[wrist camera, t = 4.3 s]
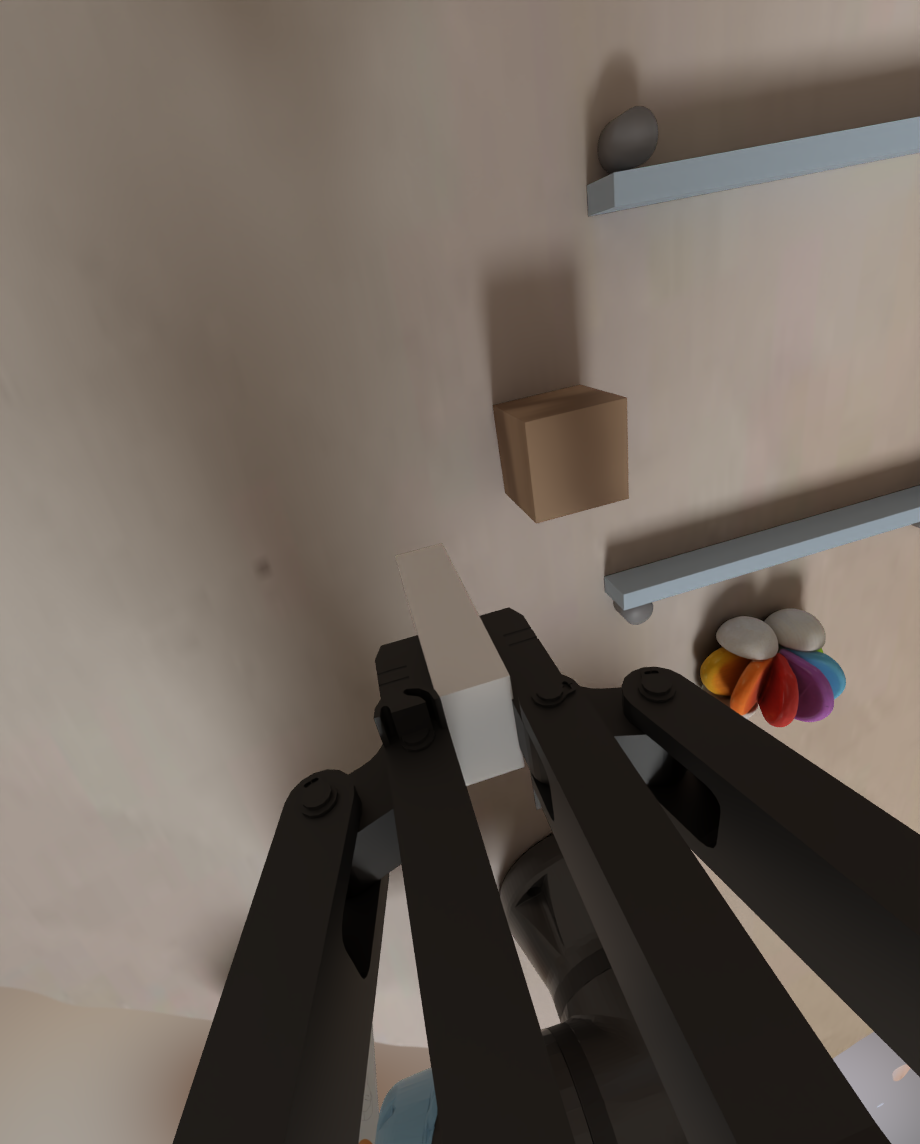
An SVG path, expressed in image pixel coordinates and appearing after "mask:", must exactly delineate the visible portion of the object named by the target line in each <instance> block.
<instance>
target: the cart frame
mask: <svg viewBox="0 0 920 1144" xmlns="http://www.w3.org/2000/svg"><path fill="white" fill-rule="evenodd" d="M657 140H658V125H657V121H656V119H655V116H654V115H653V113H652V112H651V111H650V110H649V109H648V108H646V107H643V106H635V107H632V108H631V109H629V110H627V111H626V112H624V113H623V114H621V115H620V116H618V117H617V118H615V119H614V120H612V121H611V122H609V123H608V124H607V125H606V126H605V128H604V129H603V131H602V133H601V135H600V138H599V142H598V157H599V160H600V163H601V165H602V167H603V168H604V169H605V170H606V171H607V172H608V173H611V174H610V175H608V176H606V177H604V178H601V179H599V180H597V181H595V182H593V183H591V184H589V185H587V198H588V217H589V216H594V215H599V214H604V213H609V212H614V211H620V210H625V209H630V208H635V207H640V206H645V205H651V204H656V203H661V202H666V201H671V200H676V199H682V198H687V197H692V196H697V195H702V194H708V193H713V192H718V191H723V190H728V189H733V188H739V187H744V186H749V185H754V184H759V183H764V182H770V181H775V180H780V179H785V178H790V177H795V176H801V175H806V174H811V173H816V172H821V171H826V170H832V169H837V168H842V167H847V166H852V165H857V164H863V163H868V162H873V161H878V160H883V159H888V158H894V157H899V156H904V155H909V154H914V153H919V152H920V117H914V118H909V119H903V120H898V121H893V122H887V123H882V124H876V125H871V126H865V127H860V128H854V129H849V130H843V131H838V132H833V133H827V134H822V135H816V136H811V137H805V138H800V139H794V140H789V141H783V142H778V143H772V144H767V145H762V146H756V147H751V148H745V149H740V150H734V151H729V152H723V153H718V154H712V155H707V156H701V157H696V158H691V159H685V160H680V161H674V162H669V163H663V164H658V165H652V166H647V167H641V168H636V169H632V168H634V167H636V166H639V165H641V164H643V163H644V162H646V161H647V160H648V159H649V158H650V156H651V155H652V153H653V152H654V150H655V147H656V144H657ZM907 525H913V526H916V527H919V528H920V485H919V486H916V487H912V488H909V489H905V490H902V491H898V492H895V493H891V494H888V495H885V496H881V497H878V498H874V499H871V500H867V501H864V502H860V503H857V504H853V505H850V506H847V507H843V508H840V509H836V510H833V511H829V512H826V513H822V514H819V515H815V516H812V517H809V518H805V519H802V520H798V521H795V522H791V523H788V524H784V525H781V526H777V527H774V528H771V529H767V530H764V531H760V532H757V533H753V534H750V535H746V536H743V537H740V538H736V539H733V540H729V541H726V542H722V543H719V544H715V545H712V546H708V547H705V548H702V549H698V550H695V551H691V552H688V553H684V554H681V555H677V556H674V557H670V558H667V559H664V560H660V561H657V562H653V563H650V564H646V565H643V566H639V567H636V568H632V569H629V570H626V571H622V572H619V573H615V574H612V575H608V576H605V577H604V580H605V592H606V593H607V594H608V595H609V596H610V597H611V598H612V599H613V600H614V608H615V609H616V610H617V611H618V612H619V613H620V614H621V615H622V616H623V617H624V618H625V619H626V620H627V621H628V622H629V623H630V624H633V625H638V624H641V623H643V622H645V621H646V620H647V619H648V618H649V617H650V616H651V614H652V612H653V604H652V602H654V601H658V600H661V599H664V598H668V597H671V596H674V595H678V594H681V593H684V592H688V591H691V590H694V589H698V588H701V587H704V586H708V585H711V584H714V583H717V582H721V581H724V580H727V579H731V578H734V577H737V576H741V575H744V574H747V573H751V572H754V571H757V570H761V569H764V568H767V567H771V566H774V565H777V564H781V563H784V562H787V561H791V560H794V559H797V558H801V557H804V556H807V555H811V554H814V553H817V552H821V551H824V550H827V549H831V548H834V547H837V546H841V545H844V544H847V543H851V542H854V541H857V540H861V539H864V538H867V537H871V536H874V535H877V534H881V533H884V532H887V531H891V530H894V529H897V528H901V527H904V526H907Z"/></svg>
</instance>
